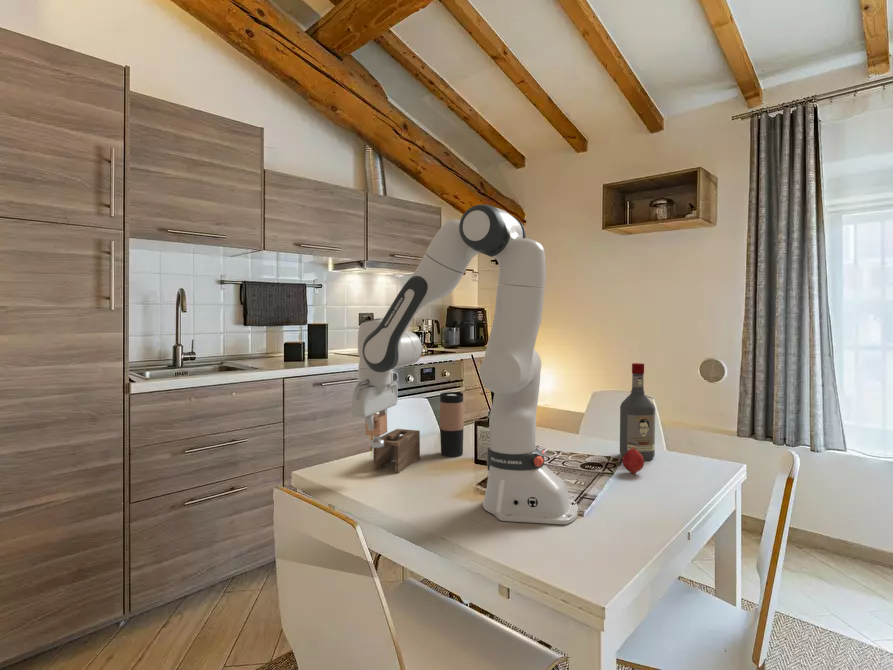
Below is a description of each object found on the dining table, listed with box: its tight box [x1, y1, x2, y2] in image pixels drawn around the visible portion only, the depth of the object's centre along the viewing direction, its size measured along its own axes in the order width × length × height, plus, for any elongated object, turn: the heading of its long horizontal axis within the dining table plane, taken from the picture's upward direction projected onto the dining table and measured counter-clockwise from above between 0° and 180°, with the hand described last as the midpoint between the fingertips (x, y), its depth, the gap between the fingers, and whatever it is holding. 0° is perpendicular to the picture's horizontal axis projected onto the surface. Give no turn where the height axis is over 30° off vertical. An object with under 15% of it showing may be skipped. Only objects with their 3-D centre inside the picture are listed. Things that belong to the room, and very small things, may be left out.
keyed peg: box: [364, 413, 388, 449], centre depth 144 cm, size 4×4×8 cm
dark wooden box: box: [372, 428, 421, 474], centre depth 160 cm, size 8×16×9 cm, turn 160°
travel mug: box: [439, 391, 464, 458], centre depth 171 cm, size 8×8×20 cm
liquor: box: [619, 362, 656, 461], centre depth 167 cm, size 9×9×30 cm
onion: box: [621, 447, 645, 475], centre depth 150 cm, size 6×6×8 cm
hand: (376, 427), depth 144 cm, fingers closed on keyed peg, 4 cm apart
